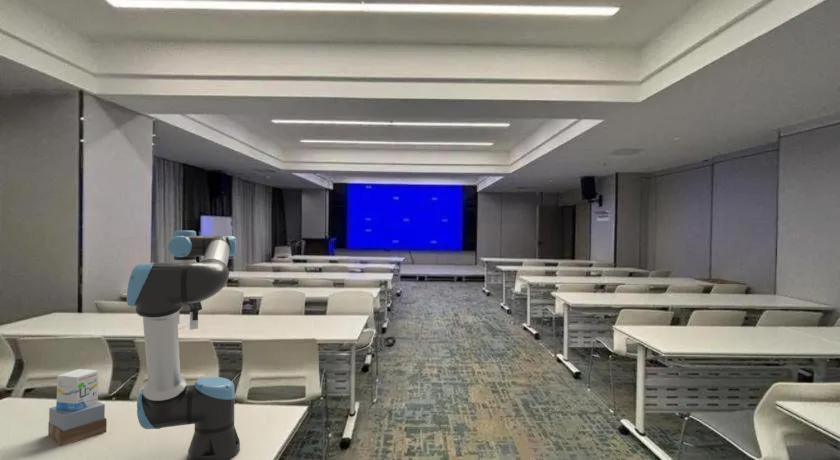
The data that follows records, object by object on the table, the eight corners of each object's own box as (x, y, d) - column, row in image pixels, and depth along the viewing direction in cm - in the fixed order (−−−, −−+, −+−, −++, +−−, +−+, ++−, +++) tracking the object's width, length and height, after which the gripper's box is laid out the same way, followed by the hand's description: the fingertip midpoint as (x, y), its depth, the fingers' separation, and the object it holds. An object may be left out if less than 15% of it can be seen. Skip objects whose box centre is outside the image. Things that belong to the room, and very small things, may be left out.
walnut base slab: (106, 433, 159) (106, 418, 159) (60, 447, 148) (61, 431, 148) (92, 423, 167) (92, 410, 167) (48, 436, 156) (48, 421, 156)
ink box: (75, 411, 152) (76, 377, 152) (55, 409, 154) (55, 375, 154) (98, 402, 161) (99, 369, 161) (79, 400, 162) (79, 368, 163)
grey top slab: (104, 418, 159) (104, 404, 159) (63, 431, 149) (63, 415, 149) (89, 411, 166) (89, 397, 166) (49, 422, 155) (49, 408, 155)
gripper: (212, 271, 167) (211, 329, 167) (178, 268, 182) (177, 321, 181) (192, 273, 161) (191, 332, 161) (158, 269, 175) (158, 324, 175)
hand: (184, 326), depth 171 cm, fingers open, 13 cm apart
